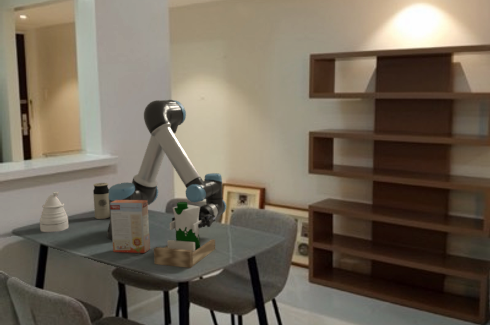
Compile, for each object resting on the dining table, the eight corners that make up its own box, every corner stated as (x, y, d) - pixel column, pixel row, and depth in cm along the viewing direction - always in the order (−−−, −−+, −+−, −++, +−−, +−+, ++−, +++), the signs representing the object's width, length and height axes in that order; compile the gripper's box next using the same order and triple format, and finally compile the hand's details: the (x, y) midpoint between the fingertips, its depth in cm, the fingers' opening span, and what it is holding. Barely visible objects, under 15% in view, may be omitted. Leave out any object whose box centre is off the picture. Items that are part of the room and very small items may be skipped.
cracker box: (150, 249, 205) (148, 199, 202) (144, 253, 199) (141, 202, 196) (119, 247, 208) (116, 198, 205) (112, 252, 202) (109, 202, 199)
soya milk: (172, 252, 195) (170, 202, 193) (189, 246, 202) (187, 198, 199) (187, 256, 189) (184, 205, 187) (204, 250, 196) (202, 201, 193)
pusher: (168, 257, 192) (167, 241, 191) (170, 256, 193) (169, 240, 192) (193, 260, 188) (193, 243, 187) (195, 259, 190) (195, 242, 189)
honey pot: (73, 225, 248) (70, 189, 245) (61, 232, 235) (58, 194, 233) (48, 225, 249) (45, 189, 247) (35, 232, 236) (32, 195, 234)
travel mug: (96, 216, 265) (94, 183, 263) (111, 215, 266) (109, 182, 264) (93, 219, 258) (91, 185, 255) (109, 218, 258) (107, 184, 256)
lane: (154, 264, 186) (153, 248, 185) (182, 246, 208) (181, 232, 207) (190, 267, 181) (189, 251, 180) (215, 249, 202) (214, 234, 202)
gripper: (229, 223, 208) (208, 238, 187) (183, 220, 215) (157, 234, 194) (229, 206, 207) (207, 219, 186) (182, 203, 214) (156, 216, 193)
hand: (181, 227), depth 190 cm, fingers closed on soya milk, 9 cm apart
